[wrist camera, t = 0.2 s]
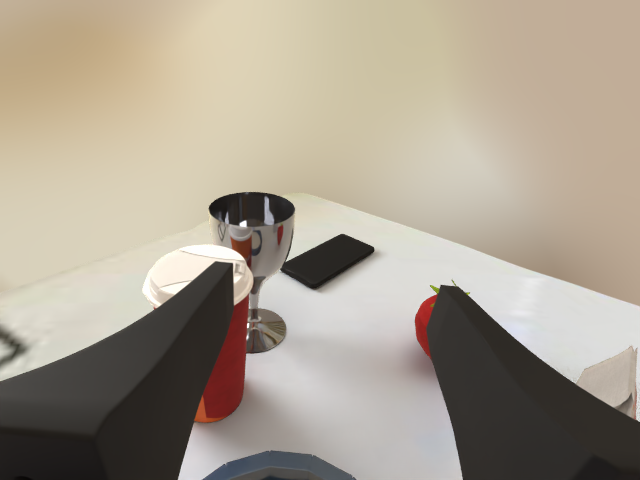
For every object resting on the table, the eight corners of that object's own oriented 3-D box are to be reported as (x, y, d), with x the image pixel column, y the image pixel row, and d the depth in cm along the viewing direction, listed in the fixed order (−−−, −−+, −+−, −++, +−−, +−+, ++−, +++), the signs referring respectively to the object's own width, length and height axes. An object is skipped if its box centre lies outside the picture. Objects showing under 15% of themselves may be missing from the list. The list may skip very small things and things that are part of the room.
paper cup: (257, 361, 37) (256, 242, 30) (252, 432, 30) (249, 300, 24) (177, 363, 36) (158, 240, 29) (154, 437, 29) (122, 300, 23)
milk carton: (542, 467, 30) (597, 383, 25) (558, 413, 34) (605, 334, 30) (595, 501, 28) (665, 417, 23) (603, 438, 32) (663, 358, 28)
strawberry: (392, 364, 38) (411, 286, 33) (426, 329, 43) (446, 258, 38) (445, 398, 35) (474, 318, 30) (474, 356, 40) (503, 282, 35)
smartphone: (277, 265, 51) (342, 232, 62) (277, 270, 52) (341, 237, 62) (314, 285, 47) (376, 247, 58) (313, 291, 48) (375, 252, 58)
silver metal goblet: (246, 298, 46) (243, 186, 38) (302, 320, 43) (309, 204, 36) (202, 338, 39) (189, 211, 32) (264, 366, 36) (264, 235, 29)
